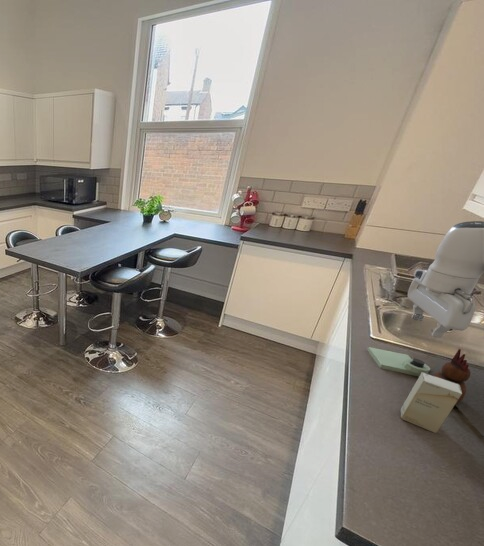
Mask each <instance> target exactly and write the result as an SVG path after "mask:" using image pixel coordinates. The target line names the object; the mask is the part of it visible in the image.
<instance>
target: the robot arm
mask: <svg viewBox="0 0 484 546" xmlns="http://www.w3.org/2000/svg"><path fill="white" fill-rule="evenodd" d="M482 275H484V221H483V220H482V221H481V220H471V221H462V222H459V223H456V224H454V225H453V226H451V227H450V228H449V230H448V231H447V232H446V233H445V235H444V236H443V238H442V239H441V242H440V243H439V245H438V247H437V250H436V251H435V258H434V260H433V261H432V263H430V265H429V266H428V269H416V270H415V271H414V273H413V276H414V278H413V279H412V281H411V283H410V285H409V288H408V290H407V299H408V300H410V301H411V302H412V303H413V306H412V315H411V319H412V320H413V321H416V322H422V321H423V319H424V318H425V315H424V312H425V313H426V314H428V316H430V317H431V318H432V319H434V320H435V321H436V322H437V323H436V327H435V328H433V327H432V328H431V329H430V331H429V335H431V336H432V337H433V338H437V339H441V338H442V337H443V336H444V334H445V333H447V332H449V331H450V330H453V331H465V330H467V329H468V328H469V326H470V324H471V322H472V320H473V317H474V314H475V312H476V304H475V302H474V300H473V295H472V293H473V291H474V289H475V287H476V285H477V284H478V282H479V280H480V278H481V277H482Z"/></svg>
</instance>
